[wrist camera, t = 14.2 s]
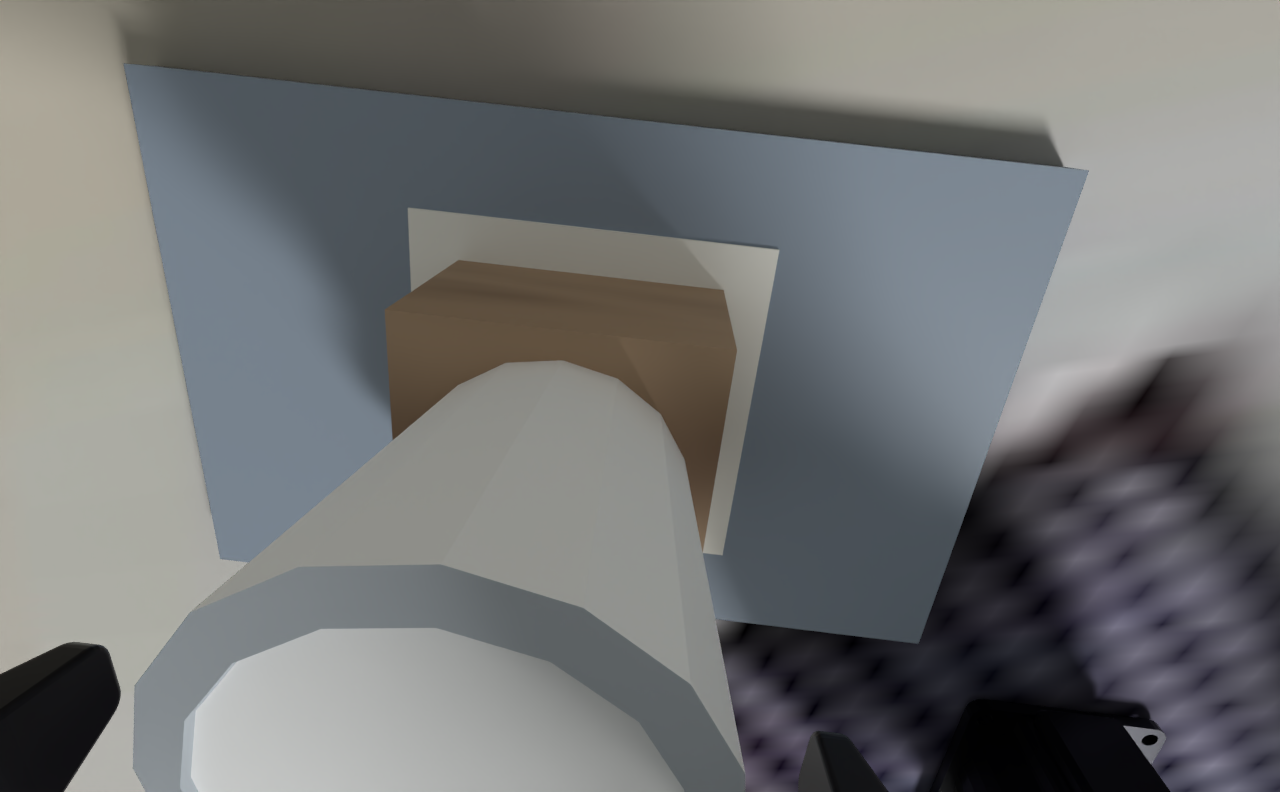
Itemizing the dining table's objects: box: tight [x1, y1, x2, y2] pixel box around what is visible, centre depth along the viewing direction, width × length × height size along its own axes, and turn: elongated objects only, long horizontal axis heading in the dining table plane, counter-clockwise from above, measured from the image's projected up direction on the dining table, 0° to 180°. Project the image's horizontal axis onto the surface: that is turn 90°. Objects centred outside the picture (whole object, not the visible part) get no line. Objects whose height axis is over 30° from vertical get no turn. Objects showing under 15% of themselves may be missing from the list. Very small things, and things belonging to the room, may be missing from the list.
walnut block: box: [385, 260, 737, 553], centre depth 16 cm, size 7×7×4 cm
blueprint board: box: [124, 63, 1089, 644], centre depth 18 cm, size 14×22×1 cm, turn 84°
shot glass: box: [133, 360, 745, 792], centre depth 10 cm, size 7×7×7 cm
